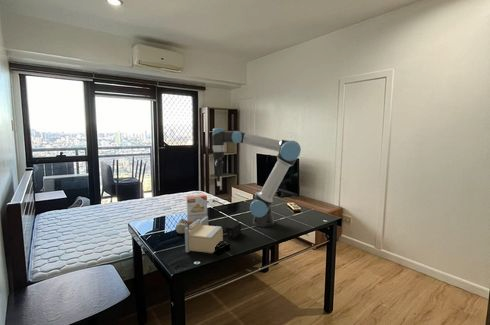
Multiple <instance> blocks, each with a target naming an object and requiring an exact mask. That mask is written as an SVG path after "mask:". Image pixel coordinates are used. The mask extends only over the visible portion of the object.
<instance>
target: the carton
mask: <svg viewBox="0 0 490 325" xmlns="http://www.w3.org/2000/svg"><path fill="white" fill-rule="evenodd" d="M201 222H202V225H207V226H209V216H208V215H207V216H206V217H204V218H203V219H202V220H201ZM189 230H190V229H189V228H185V233H184V244H185V248H184V249H185V250H184V251H185V253H189V252H190V251H191V252H198V253H200V252H201V253H205V254H207V253H208V254H214V253H215V252H216V250H215V247H216V245H217V244H218V243H219V242H220V241H223V242H224V237H223V236H224V235H223V234H224V232H223V228H221V229H220V230H219V231H218V232H217V233H216V234H215V235H214V236H213V237H212V239H209V238H200V237H190V236H189Z"/></svg>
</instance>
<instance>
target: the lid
mask: <svg viewBox="0 0 490 325" xmlns="http://www.w3.org/2000/svg"><path fill="white" fill-rule="evenodd" d="M220 229H223V227H222V226H219V225H216V226H215V225H208V226H207V225H202V222H200V223H198V224H197V225H196V226H195V227H193V228H192V229H189V236H190V237H200V238H209V239H211V238H212V237H213V236H214V235H215V234H216V233H217V232H218V231H219V230H220Z"/></svg>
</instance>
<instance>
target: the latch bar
mask: <svg viewBox="0 0 490 325" xmlns="http://www.w3.org/2000/svg"><path fill="white" fill-rule="evenodd" d="M200 222H201V219H197V220H196V221H195V222H193V223H192V224H191V225H189V230H190V229H192V228H193V227H195V226H196V225H197V224H198V223H200Z"/></svg>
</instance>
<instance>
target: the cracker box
mask: <svg viewBox="0 0 490 325" xmlns="http://www.w3.org/2000/svg"><path fill="white" fill-rule="evenodd" d="M185 196H186V195H185ZM207 196H208V195H207V194H197V195H196V194H195V195H187V196H186V220H187V222H188V224H192V223H193V222H195V221H196V220H197V219H201V220H202V219H203V218H204V217H206V216H208V197H207Z"/></svg>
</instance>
